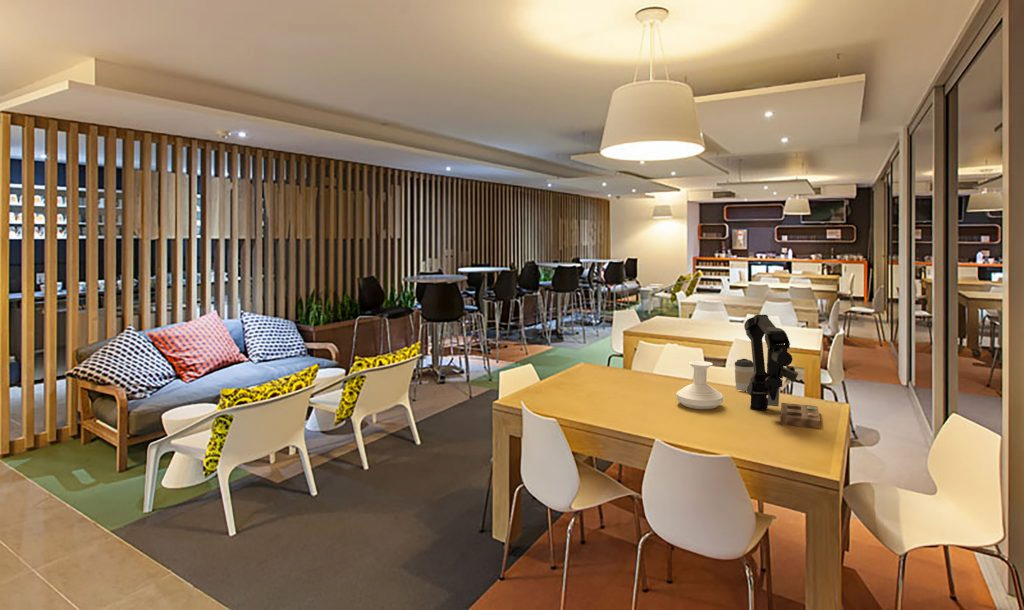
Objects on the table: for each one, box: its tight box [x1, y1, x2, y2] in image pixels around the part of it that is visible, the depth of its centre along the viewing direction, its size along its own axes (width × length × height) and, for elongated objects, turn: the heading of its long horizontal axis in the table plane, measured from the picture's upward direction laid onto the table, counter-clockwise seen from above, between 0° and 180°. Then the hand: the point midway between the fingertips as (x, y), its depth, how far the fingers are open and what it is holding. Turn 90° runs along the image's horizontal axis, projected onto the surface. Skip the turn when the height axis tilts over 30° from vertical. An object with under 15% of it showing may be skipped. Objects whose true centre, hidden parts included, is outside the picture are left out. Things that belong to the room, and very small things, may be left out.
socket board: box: [780, 402, 821, 429], centre depth 243 cm, size 14×22×4 cm, turn 155°
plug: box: [767, 388, 780, 407], centre depth 240 cm, size 4×4×8 cm
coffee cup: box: [734, 358, 754, 391], centre depth 287 cm, size 9×9×15 cm
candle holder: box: [676, 360, 724, 410], centre depth 261 cm, size 20×20×19 cm
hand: (773, 398), depth 240 cm, fingers closed on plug, 4 cm apart
